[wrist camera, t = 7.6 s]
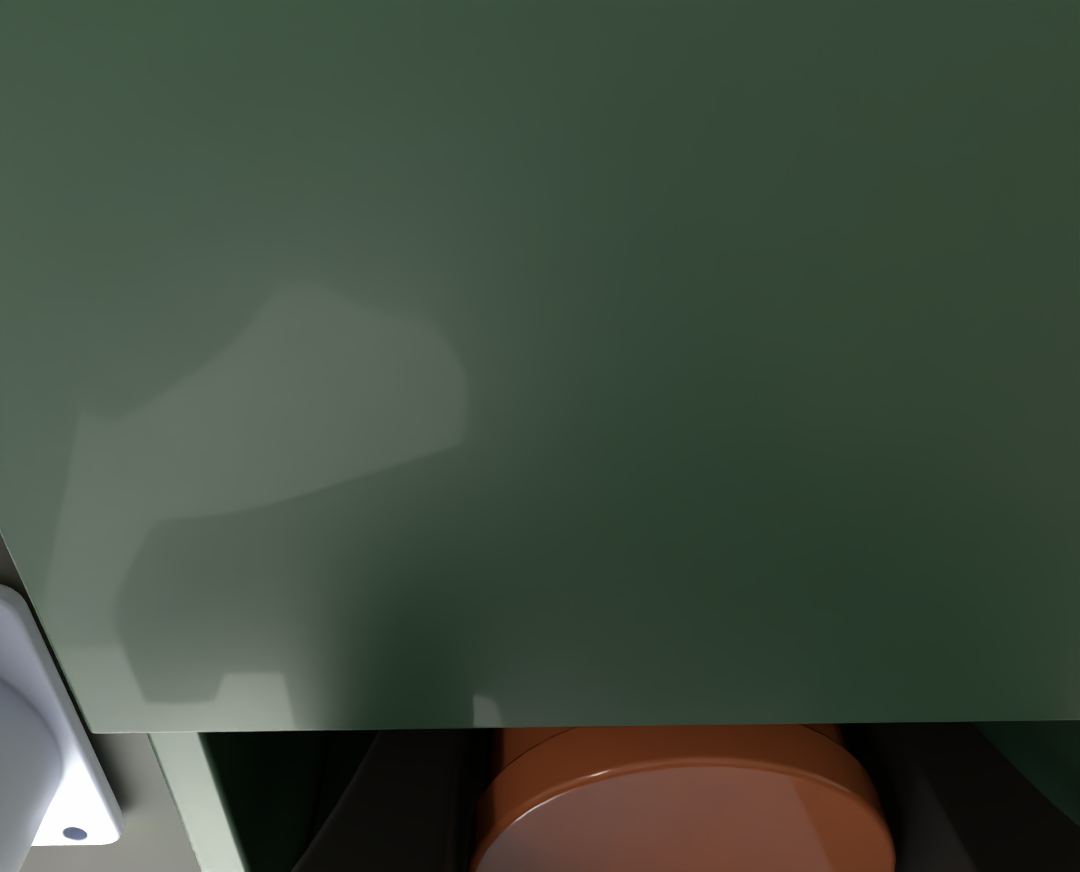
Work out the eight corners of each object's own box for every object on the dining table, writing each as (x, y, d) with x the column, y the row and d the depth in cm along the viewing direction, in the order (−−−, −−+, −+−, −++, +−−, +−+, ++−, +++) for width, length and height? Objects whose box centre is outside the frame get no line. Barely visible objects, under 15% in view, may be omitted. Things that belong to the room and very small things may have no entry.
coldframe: (898, 622, 18) (1084, 1041, 12) (328, 629, 18) (231, 1056, 12) (1157, -184, 11) (2010, -136, 4) (171, -183, 10) (-315, -131, 4)
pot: (487, 676, 16) (474, 994, 11) (475, 450, 13) (454, 764, 9) (766, 672, 16) (852, 988, 12) (814, 447, 13) (948, 757, 9)
